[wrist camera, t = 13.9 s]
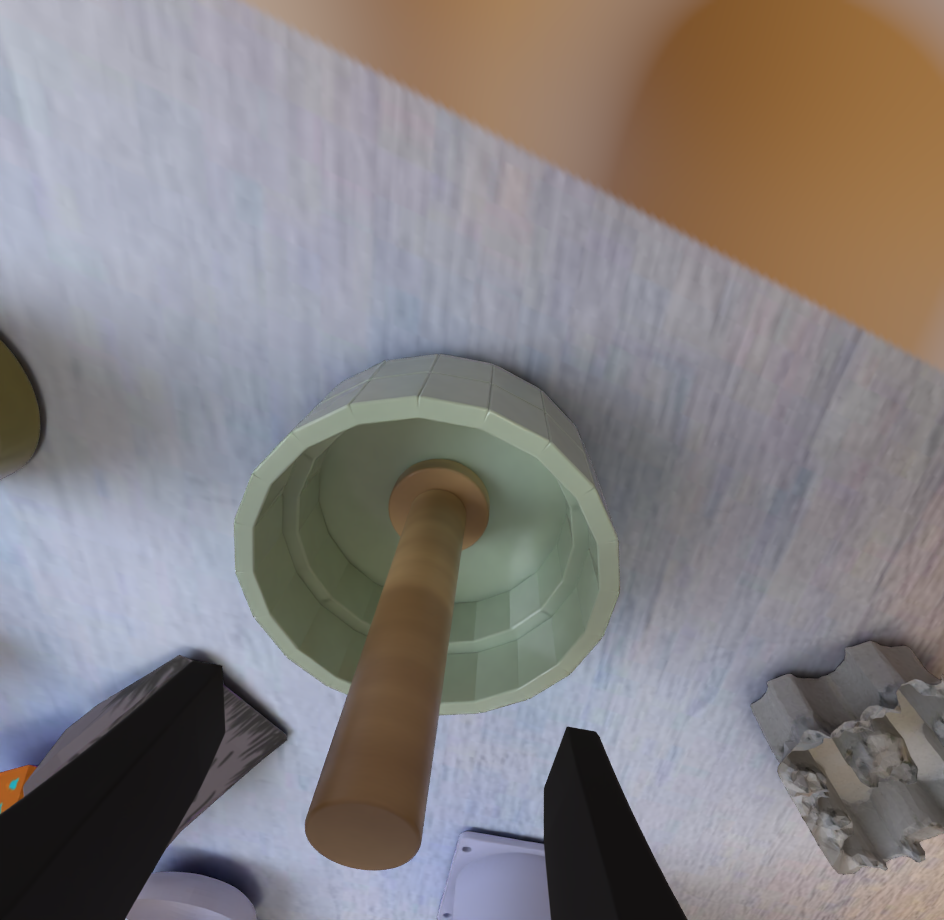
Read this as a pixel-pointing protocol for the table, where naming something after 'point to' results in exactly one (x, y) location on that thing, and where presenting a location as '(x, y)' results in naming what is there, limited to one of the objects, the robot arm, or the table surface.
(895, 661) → the egg carton
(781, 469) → the table surface
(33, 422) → the brass candlestick
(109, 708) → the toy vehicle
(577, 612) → the bowl
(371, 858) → the wooden pestle
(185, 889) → the shallow white dish
